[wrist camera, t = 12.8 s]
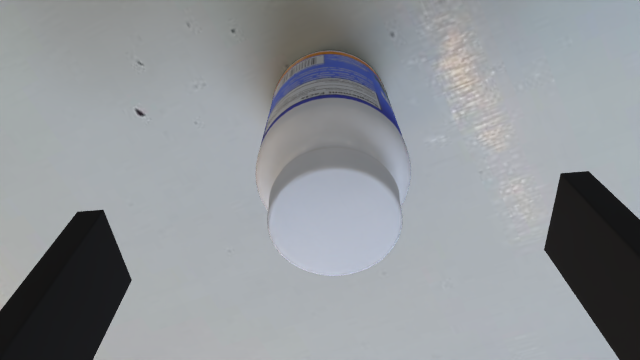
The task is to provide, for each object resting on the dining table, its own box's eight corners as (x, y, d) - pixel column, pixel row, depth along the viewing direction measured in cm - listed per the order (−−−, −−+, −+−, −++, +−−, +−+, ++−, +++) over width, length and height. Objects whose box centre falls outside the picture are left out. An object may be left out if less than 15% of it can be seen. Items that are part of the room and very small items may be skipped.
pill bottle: (376, 158, 23) (411, 300, 15) (270, 150, 23) (244, 291, 14) (394, 51, 20) (450, 152, 12) (273, 41, 20) (243, 138, 12)
